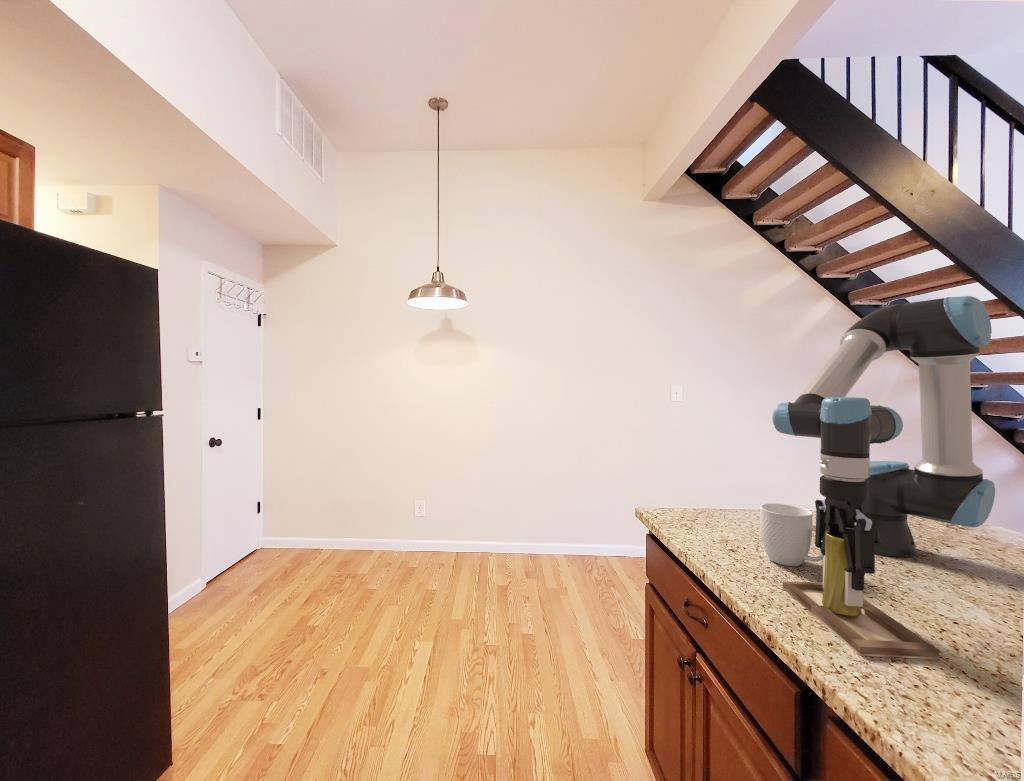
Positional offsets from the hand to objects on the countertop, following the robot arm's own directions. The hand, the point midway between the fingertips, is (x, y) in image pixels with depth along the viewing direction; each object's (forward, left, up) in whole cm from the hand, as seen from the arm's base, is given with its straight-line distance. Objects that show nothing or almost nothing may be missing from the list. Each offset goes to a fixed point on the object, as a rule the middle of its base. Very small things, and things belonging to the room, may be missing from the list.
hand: (841, 596), depth 83 cm
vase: (0, 0, -3) cm, 3 cm away
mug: (-3, -24, -3) cm, 24 cm away
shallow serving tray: (0, +2, -3) cm, 4 cm away
